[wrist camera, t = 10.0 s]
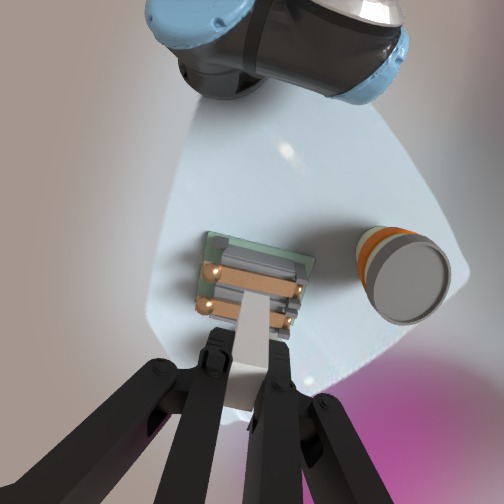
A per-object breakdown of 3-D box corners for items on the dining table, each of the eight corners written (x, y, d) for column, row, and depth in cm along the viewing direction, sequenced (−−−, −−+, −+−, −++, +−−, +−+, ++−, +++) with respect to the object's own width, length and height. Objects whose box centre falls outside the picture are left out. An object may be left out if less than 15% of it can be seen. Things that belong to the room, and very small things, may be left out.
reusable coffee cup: (420, 231, 47) (466, 258, 33) (392, 292, 51) (425, 335, 37) (362, 204, 47) (397, 224, 33) (333, 271, 51) (355, 314, 36)
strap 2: (198, 292, 46) (197, 297, 44) (293, 312, 47) (294, 317, 45) (195, 307, 47) (194, 312, 45) (288, 326, 48) (289, 332, 46)
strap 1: (205, 258, 44) (203, 262, 42) (303, 280, 45) (305, 285, 44) (201, 276, 45) (200, 280, 43) (298, 297, 46) (300, 302, 44)
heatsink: (209, 230, 50) (198, 244, 42) (314, 257, 50) (321, 275, 42) (196, 298, 54) (184, 321, 46) (292, 322, 54) (295, 348, 46)
